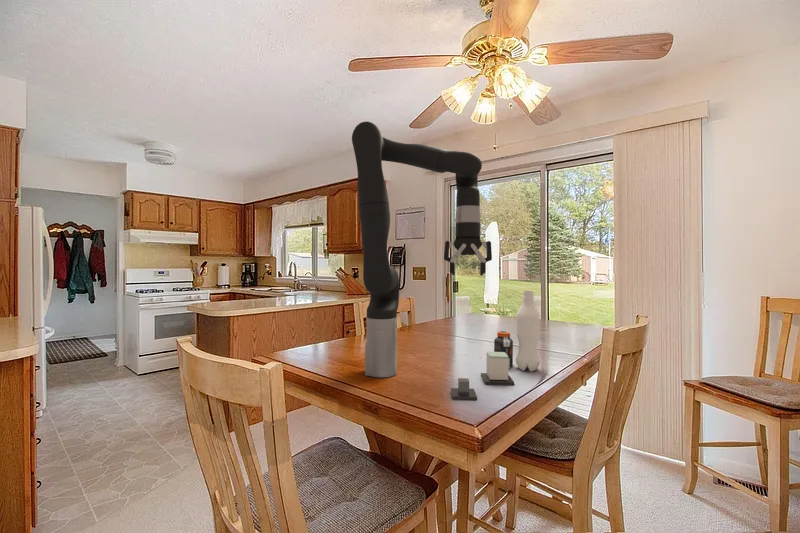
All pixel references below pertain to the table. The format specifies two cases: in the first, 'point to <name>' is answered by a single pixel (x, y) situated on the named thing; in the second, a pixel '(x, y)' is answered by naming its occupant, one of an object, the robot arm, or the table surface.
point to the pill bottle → (504, 345)
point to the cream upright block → (497, 366)
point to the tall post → (496, 382)
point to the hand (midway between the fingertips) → (467, 275)
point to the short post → (463, 391)
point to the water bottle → (528, 333)
